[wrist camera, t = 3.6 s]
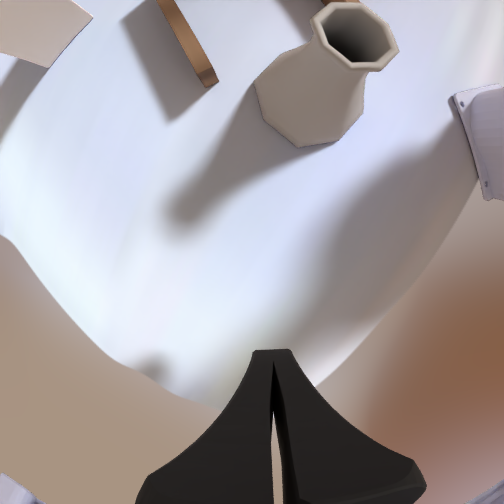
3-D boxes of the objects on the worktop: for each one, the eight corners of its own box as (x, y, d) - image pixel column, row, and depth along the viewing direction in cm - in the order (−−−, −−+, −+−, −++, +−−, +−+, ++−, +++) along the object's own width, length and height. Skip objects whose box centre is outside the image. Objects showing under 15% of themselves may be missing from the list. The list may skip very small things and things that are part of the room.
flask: (377, 120, 17) (467, 91, 7) (292, 166, 18) (330, 162, 8) (322, 37, 15) (367, -43, 6) (234, 79, 16) (213, 0, 7)
